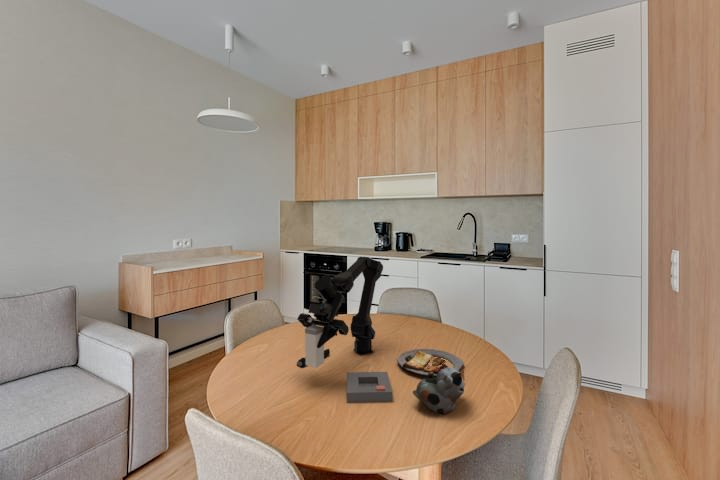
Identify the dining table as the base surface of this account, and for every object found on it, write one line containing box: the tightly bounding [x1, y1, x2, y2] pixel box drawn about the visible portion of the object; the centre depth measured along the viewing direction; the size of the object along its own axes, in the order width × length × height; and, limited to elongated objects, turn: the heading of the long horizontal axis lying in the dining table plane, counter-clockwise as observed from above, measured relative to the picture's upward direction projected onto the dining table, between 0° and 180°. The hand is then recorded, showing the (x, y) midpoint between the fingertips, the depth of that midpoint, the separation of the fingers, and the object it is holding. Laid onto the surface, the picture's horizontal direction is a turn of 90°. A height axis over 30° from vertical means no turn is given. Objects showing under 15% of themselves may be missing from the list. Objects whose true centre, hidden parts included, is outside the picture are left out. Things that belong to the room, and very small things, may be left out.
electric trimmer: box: [296, 348, 331, 369], centre depth 135 cm, size 4×16×3 cm, turn 138°
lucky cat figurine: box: [412, 366, 466, 416], centre depth 103 cm, size 15×12×14 cm
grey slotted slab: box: [346, 371, 393, 403], centre depth 111 cm, size 14×14×4 cm
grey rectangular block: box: [304, 325, 325, 369], centre depth 115 cm, size 4×4×12 cm
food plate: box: [396, 348, 465, 377], centre depth 130 cm, size 25×23×4 cm
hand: (312, 346), depth 114 cm, fingers closed on grey rectangular block, 4 cm apart
